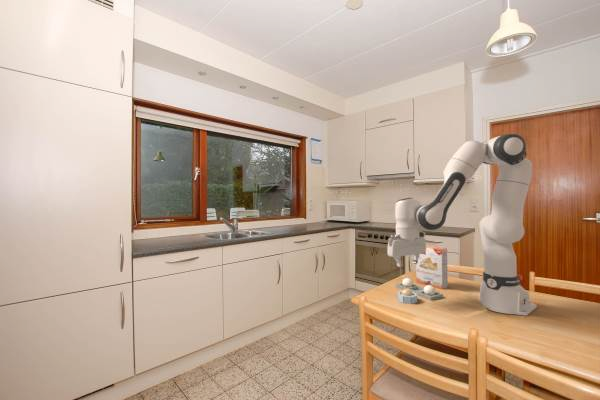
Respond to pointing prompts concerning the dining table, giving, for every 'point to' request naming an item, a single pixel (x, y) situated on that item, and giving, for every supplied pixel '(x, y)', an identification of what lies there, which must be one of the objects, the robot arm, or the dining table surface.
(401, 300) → the egg cup
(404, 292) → the brown egg
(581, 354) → the dining table surface
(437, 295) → the carton
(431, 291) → the cream egg
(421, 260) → the cracker box
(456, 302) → the dining table surface
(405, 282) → the cream egg
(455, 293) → the dining table surface
